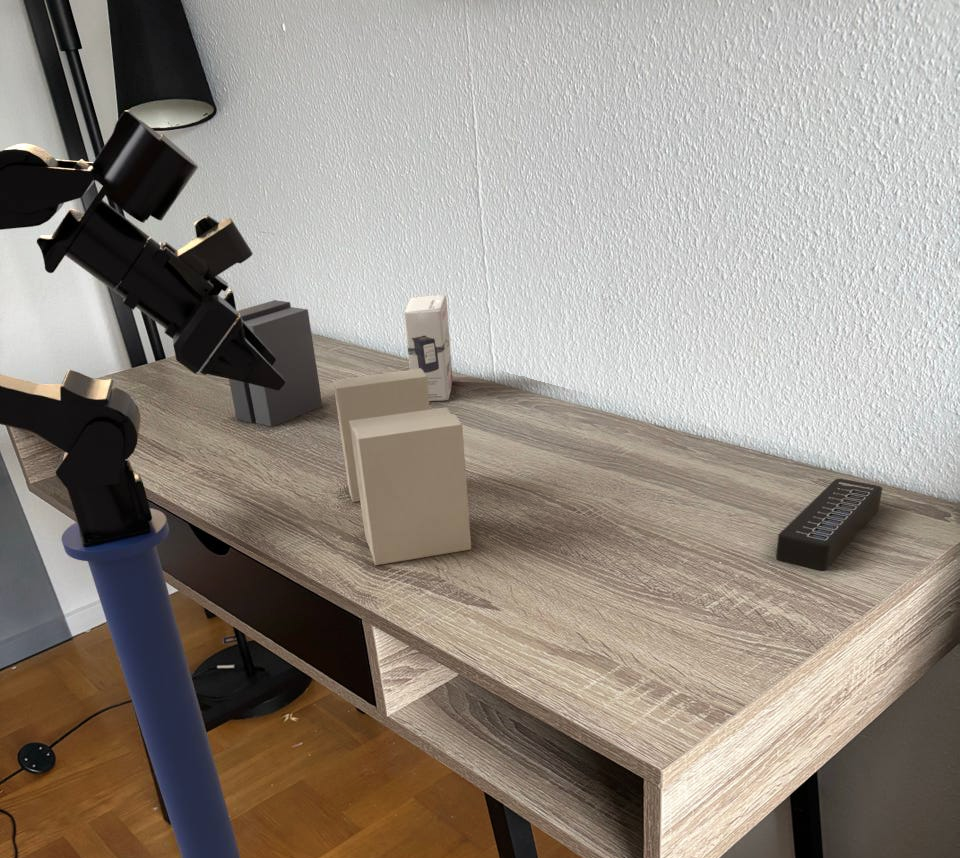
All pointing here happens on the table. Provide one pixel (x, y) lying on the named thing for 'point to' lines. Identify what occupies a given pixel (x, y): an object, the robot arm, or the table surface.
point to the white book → (376, 406)
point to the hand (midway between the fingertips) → (277, 374)
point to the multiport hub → (828, 524)
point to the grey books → (280, 366)
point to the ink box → (430, 343)
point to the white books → (412, 484)
